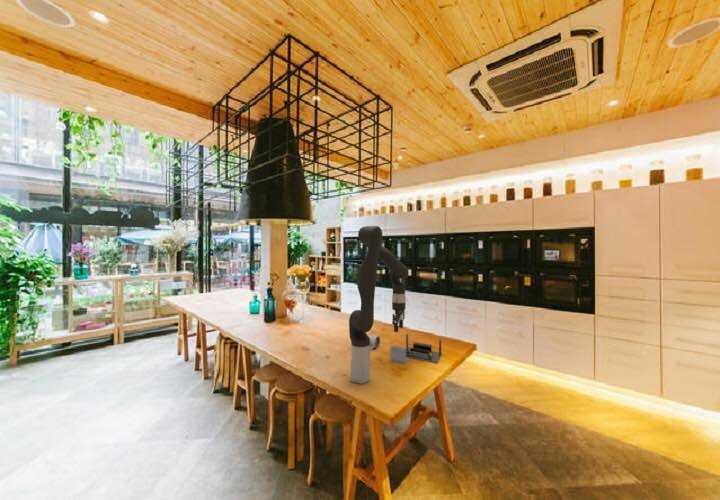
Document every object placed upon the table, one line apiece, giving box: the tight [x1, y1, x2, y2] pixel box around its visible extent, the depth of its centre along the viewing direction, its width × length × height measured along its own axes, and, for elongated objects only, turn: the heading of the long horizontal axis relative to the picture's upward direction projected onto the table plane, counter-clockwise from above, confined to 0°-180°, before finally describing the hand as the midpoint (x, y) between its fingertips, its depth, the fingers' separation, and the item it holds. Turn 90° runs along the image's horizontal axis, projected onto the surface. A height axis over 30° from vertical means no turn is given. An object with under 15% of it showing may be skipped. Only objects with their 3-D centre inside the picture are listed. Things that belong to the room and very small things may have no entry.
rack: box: [405, 334, 443, 364], centre depth 160 cm, size 14×22×9 cm, turn 63°
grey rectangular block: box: [389, 344, 408, 365], centre depth 151 cm, size 3×9×8 cm, turn 63°
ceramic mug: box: [367, 334, 381, 351], centre depth 172 cm, size 11×8×8 cm
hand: (398, 329), depth 151 cm, fingers open, 8 cm apart
